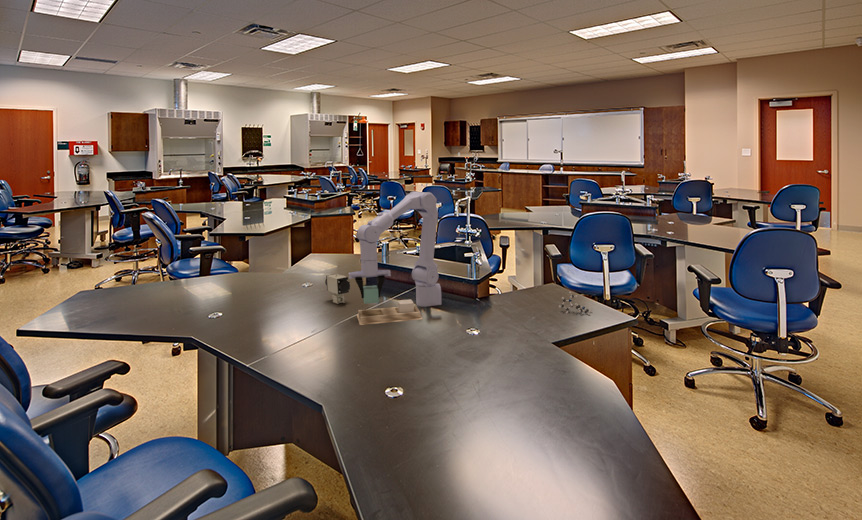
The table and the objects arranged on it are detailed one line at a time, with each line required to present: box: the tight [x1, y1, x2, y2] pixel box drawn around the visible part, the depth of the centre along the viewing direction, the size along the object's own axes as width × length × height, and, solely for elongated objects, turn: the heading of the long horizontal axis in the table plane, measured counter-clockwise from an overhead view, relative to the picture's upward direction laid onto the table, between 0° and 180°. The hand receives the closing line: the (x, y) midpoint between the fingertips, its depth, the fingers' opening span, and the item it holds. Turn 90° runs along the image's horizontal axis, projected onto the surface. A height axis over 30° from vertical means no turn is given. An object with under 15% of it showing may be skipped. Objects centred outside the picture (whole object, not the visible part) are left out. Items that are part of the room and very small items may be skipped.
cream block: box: [396, 299, 415, 314], centre depth 179 cm, size 5×5×5 cm
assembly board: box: [356, 304, 424, 326], centre depth 178 cm, size 22×12×3 cm, turn 103°
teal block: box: [362, 284, 380, 305], centre depth 177 cm, size 5×5×5 cm
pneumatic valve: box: [324, 273, 351, 305], centre depth 200 cm, size 6×12×12 cm, turn 41°
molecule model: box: [558, 291, 593, 316], centre depth 181 cm, size 6×12×8 cm, turn 76°
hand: (370, 297), depth 177 cm, fingers closed on teal block, 5 cm apart
